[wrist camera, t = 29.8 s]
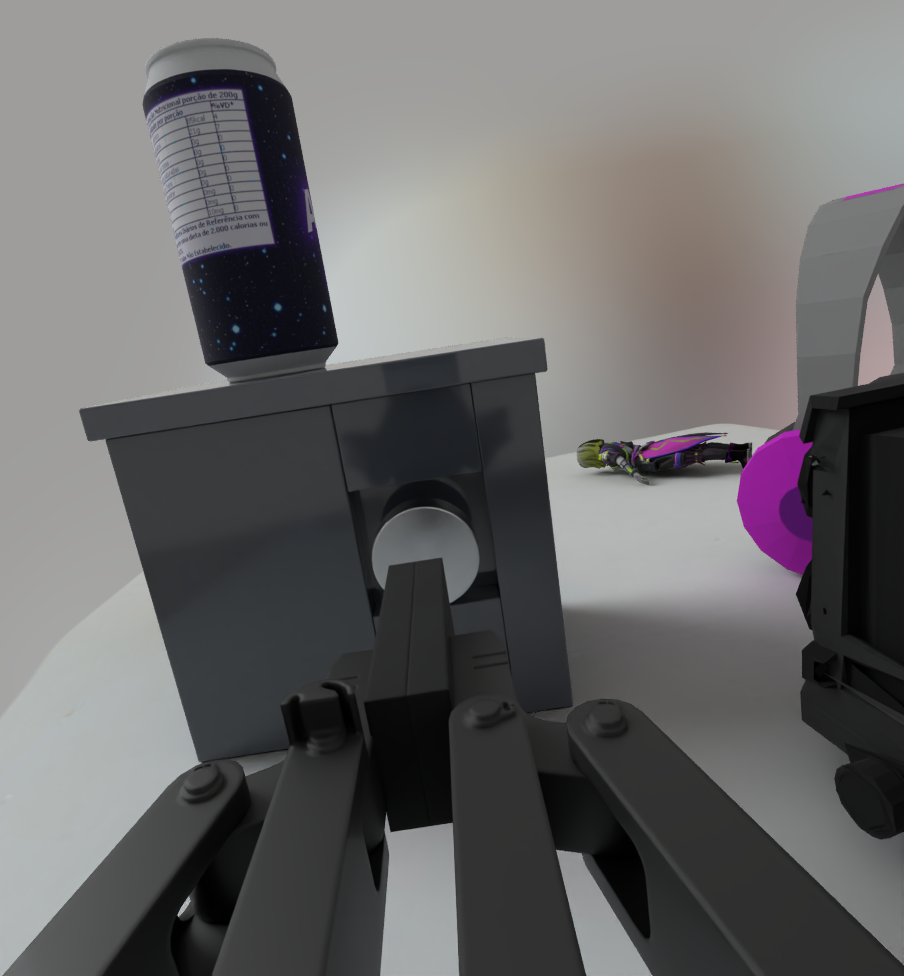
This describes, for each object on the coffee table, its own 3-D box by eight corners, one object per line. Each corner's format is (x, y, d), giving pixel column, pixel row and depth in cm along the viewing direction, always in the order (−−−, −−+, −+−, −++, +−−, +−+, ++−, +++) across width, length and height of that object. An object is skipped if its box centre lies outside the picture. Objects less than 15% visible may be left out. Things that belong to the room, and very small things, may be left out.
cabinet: (185, 771, 25) (77, 409, 22) (256, 644, 36) (191, 385, 32) (584, 710, 25) (544, 337, 22) (539, 601, 36) (507, 337, 32)
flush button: (381, 616, 23) (362, 515, 22) (384, 601, 24) (366, 505, 23) (486, 600, 23) (472, 499, 22) (483, 586, 24) (469, 489, 23)
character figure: (753, 461, 59) (590, 460, 67) (754, 423, 58) (588, 426, 66) (747, 489, 52) (563, 483, 59) (748, 445, 51) (561, 445, 58)
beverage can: (360, 362, 26) (300, 38, 23) (221, 385, 23) (135, 25, 20) (321, 366, 31) (268, 99, 28) (203, 385, 28) (131, 95, 25)
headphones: (912, 609, 29) (930, 149, 24) (727, 574, 36) (712, 206, 31) (993, 490, 42) (1015, 174, 37) (847, 480, 49) (849, 211, 44)
